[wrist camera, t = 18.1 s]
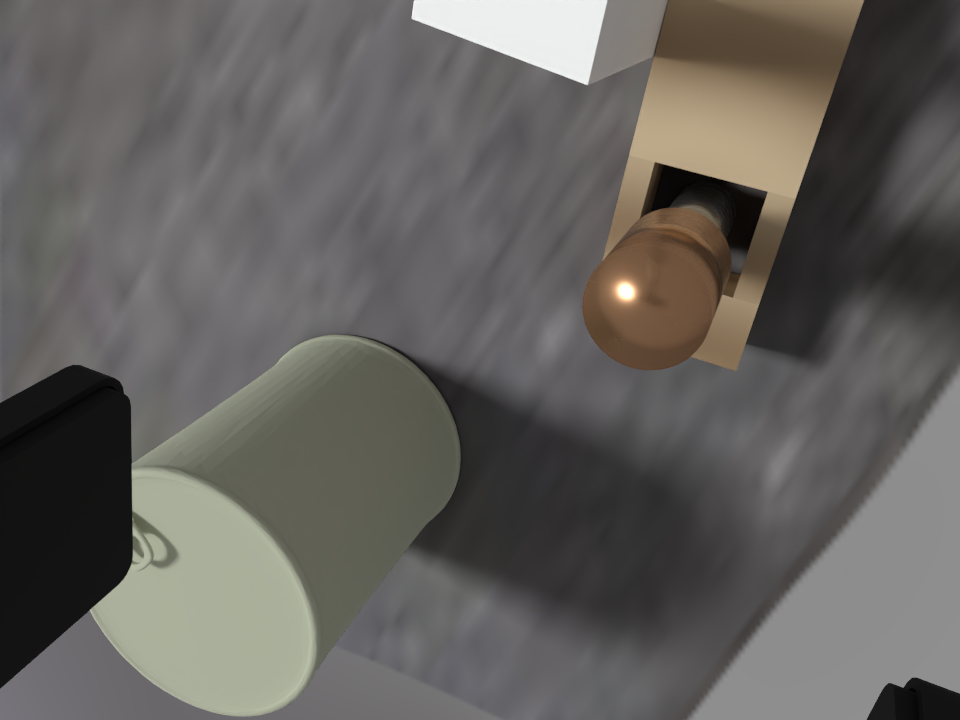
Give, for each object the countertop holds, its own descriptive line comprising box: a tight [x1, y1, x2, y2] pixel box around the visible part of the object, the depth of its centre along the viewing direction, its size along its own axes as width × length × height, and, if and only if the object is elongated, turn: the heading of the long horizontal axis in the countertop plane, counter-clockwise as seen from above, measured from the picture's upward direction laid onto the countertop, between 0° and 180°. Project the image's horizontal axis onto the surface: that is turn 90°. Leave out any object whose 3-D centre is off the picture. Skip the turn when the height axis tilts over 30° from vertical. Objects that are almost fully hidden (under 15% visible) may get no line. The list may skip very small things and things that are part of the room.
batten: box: [603, 0, 864, 371], centre depth 27 cm, size 14×5×2 cm, turn 169°
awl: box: [583, 181, 736, 370], centre depth 25 cm, size 3×3×10 cm
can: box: [90, 335, 461, 716], centre depth 33 cm, size 9×9×12 cm
